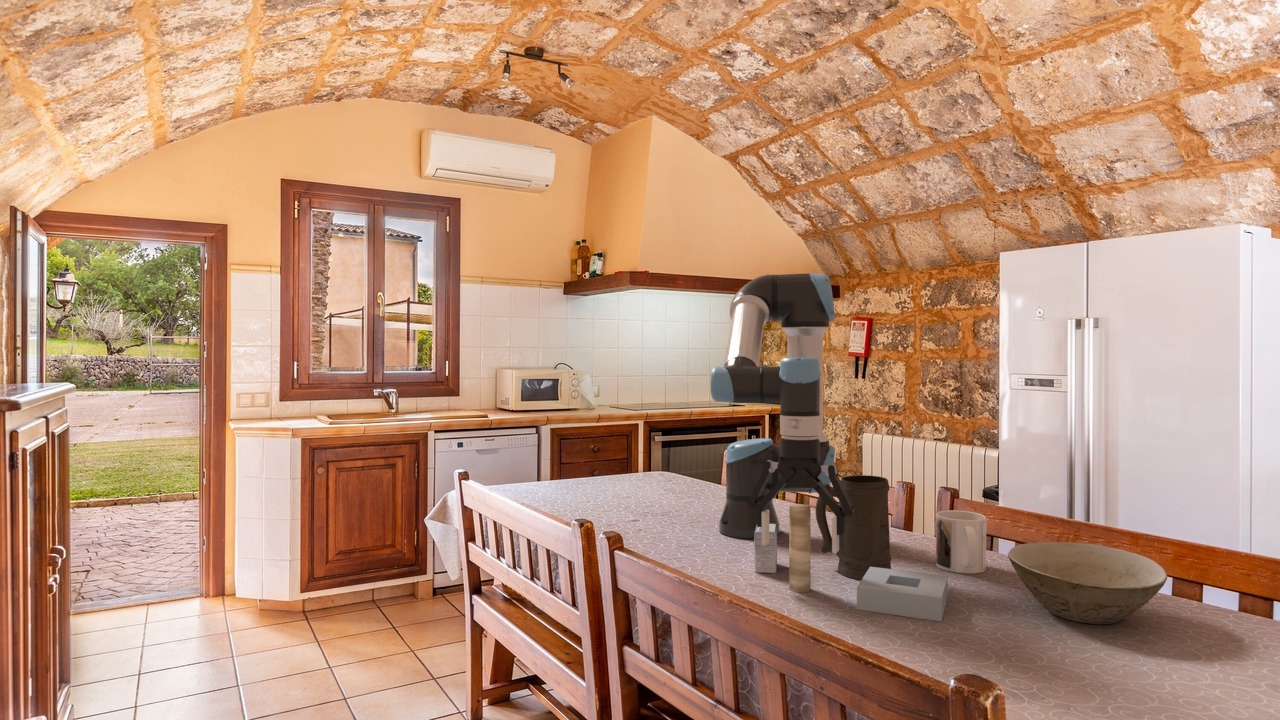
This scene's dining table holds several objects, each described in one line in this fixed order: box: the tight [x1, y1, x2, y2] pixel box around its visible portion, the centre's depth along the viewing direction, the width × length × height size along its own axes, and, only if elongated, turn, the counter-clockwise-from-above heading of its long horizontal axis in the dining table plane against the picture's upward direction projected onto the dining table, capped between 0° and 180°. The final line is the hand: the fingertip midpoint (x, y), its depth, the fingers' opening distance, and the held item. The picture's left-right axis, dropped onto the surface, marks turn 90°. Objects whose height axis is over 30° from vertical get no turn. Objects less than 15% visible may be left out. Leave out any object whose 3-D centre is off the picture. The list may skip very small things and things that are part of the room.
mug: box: [935, 509, 987, 575], centre depth 161 cm, size 10×12×11 cm
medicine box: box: [753, 524, 778, 574], centre depth 162 cm, size 8×4×9 cm, turn 168°
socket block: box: [856, 567, 949, 622], centre depth 139 cm, size 14×14×4 cm
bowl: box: [1007, 541, 1168, 625], centre depth 133 cm, size 24×24×10 cm
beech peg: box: [788, 503, 812, 593], centre depth 147 cm, size 4×4×16 cm
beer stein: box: [815, 474, 892, 581], centre depth 159 cm, size 15×11×20 cm
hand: (799, 548), depth 147 cm, fingers open, 13 cm apart
